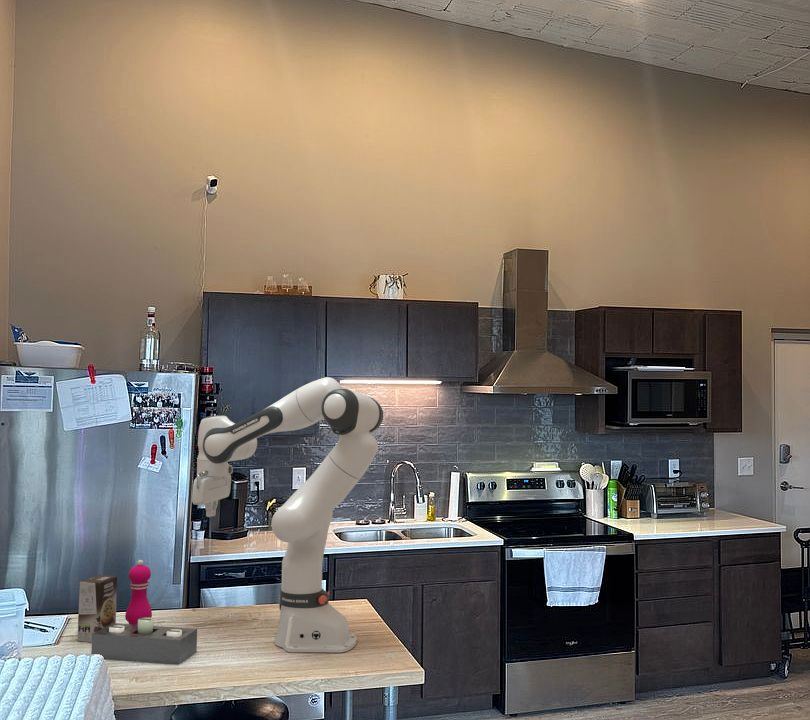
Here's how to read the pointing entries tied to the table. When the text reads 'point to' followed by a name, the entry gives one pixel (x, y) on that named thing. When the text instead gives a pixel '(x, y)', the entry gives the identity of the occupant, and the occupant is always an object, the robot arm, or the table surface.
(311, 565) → the robot arm
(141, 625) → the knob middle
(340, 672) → the table surface
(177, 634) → the cream white small cup
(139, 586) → the pepper mill
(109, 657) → the grey rectangular holder block
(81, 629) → the brown food box
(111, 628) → the small cream cup
